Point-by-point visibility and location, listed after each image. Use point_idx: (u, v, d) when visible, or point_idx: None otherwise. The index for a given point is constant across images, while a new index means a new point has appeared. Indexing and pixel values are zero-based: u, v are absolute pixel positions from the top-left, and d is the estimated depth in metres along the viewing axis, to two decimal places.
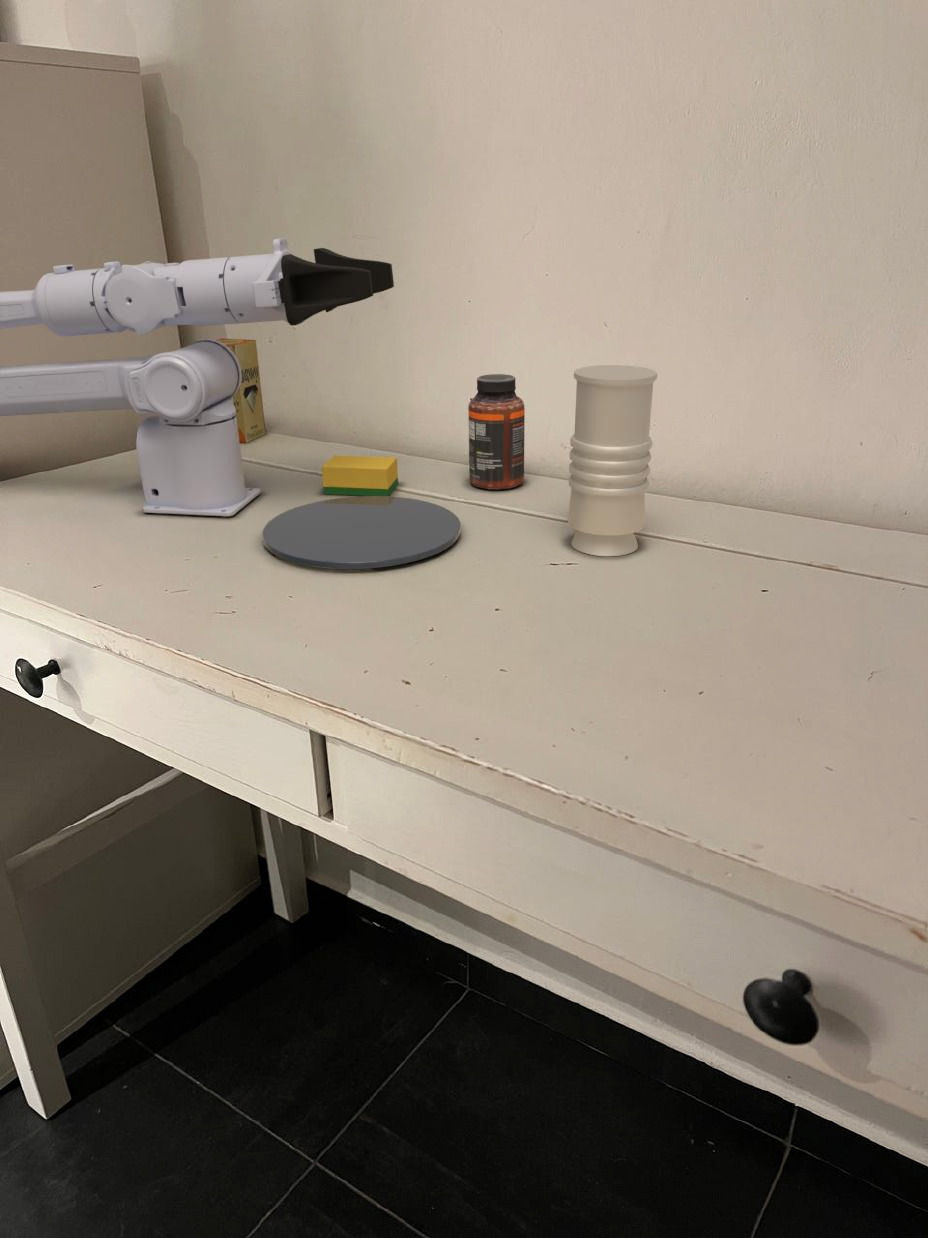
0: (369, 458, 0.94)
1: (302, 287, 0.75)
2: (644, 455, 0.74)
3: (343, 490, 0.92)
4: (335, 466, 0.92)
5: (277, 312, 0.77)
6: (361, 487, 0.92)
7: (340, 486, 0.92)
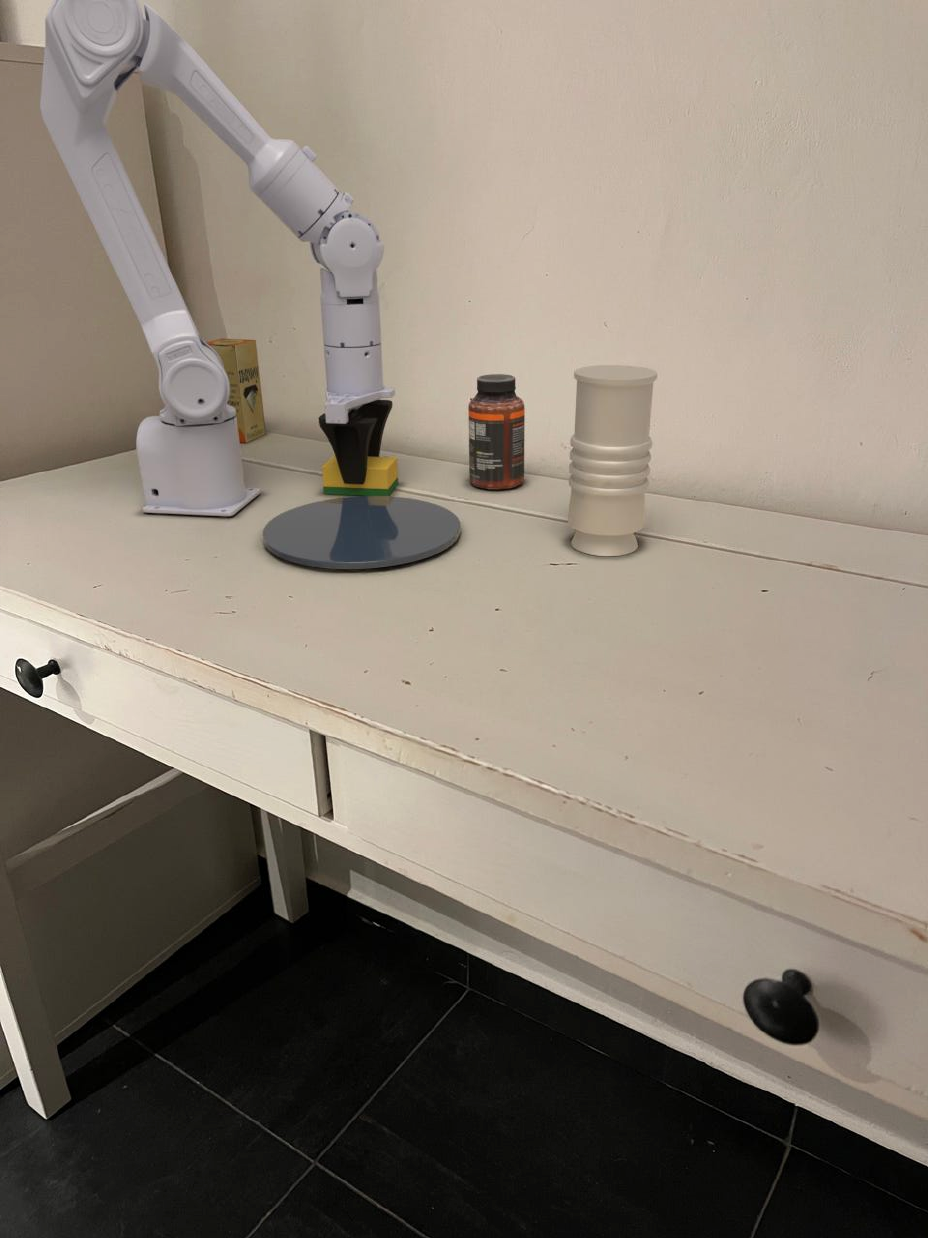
0: (369, 458, 0.94)
1: (350, 427, 0.88)
2: (644, 455, 0.74)
3: (343, 490, 0.92)
4: (335, 466, 0.92)
5: None
6: (361, 487, 0.92)
7: (340, 486, 0.92)
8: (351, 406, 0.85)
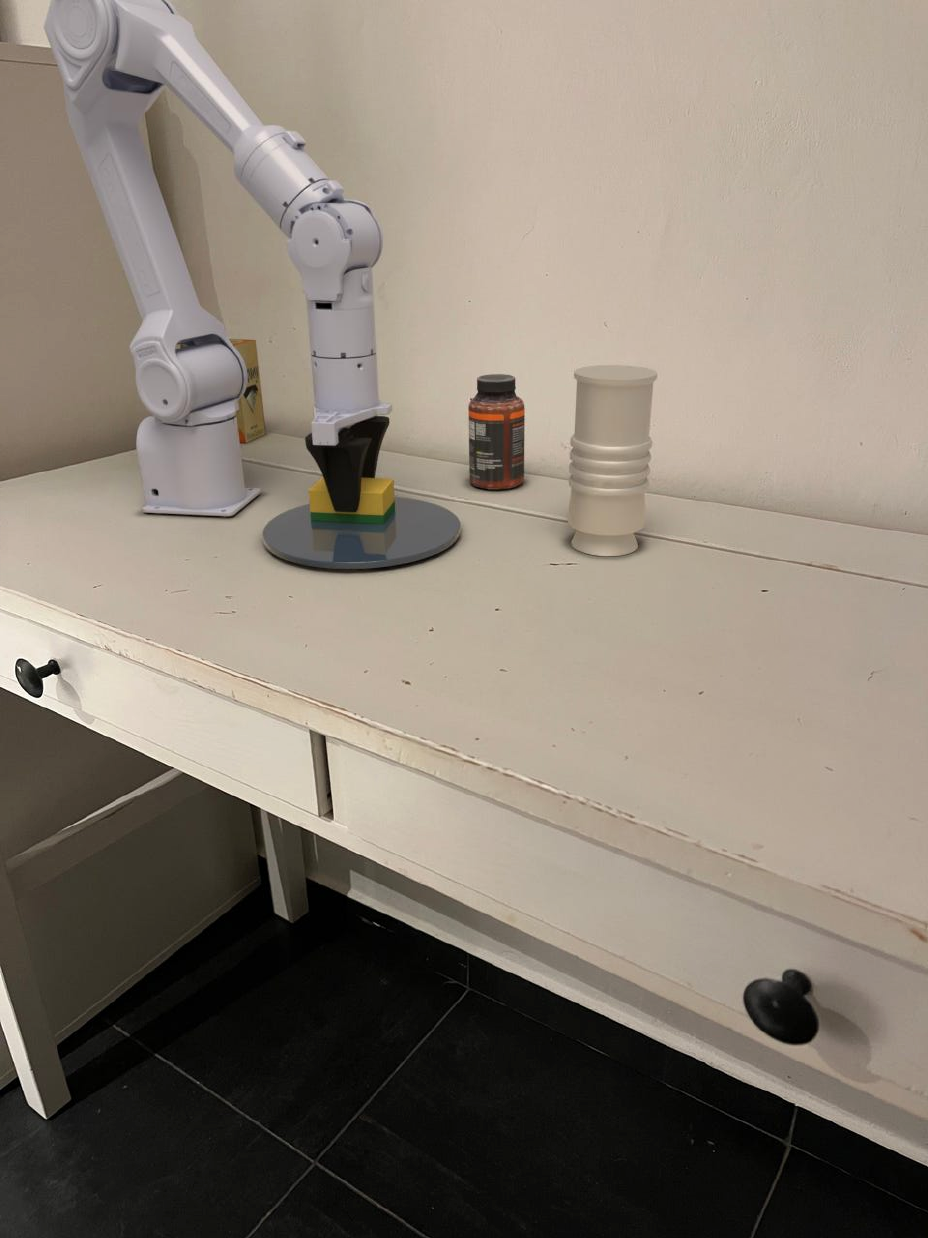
0: (362, 479, 0.84)
1: (341, 448, 0.78)
2: (644, 455, 0.74)
3: (333, 517, 0.82)
4: (324, 489, 0.81)
5: None
6: (353, 513, 0.81)
7: (329, 512, 0.82)
8: (342, 425, 0.74)
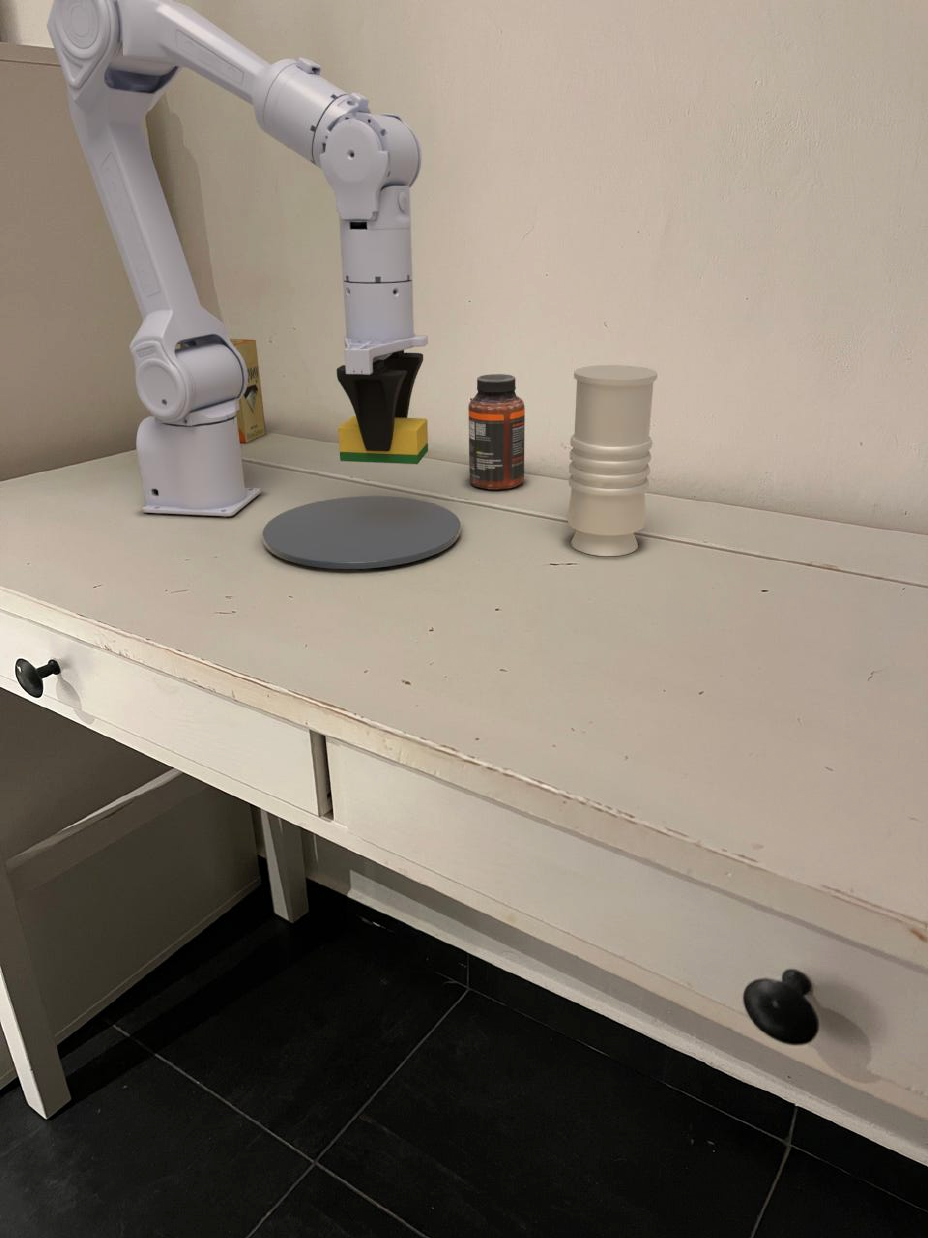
0: None
1: (374, 381, 0.74)
2: (644, 455, 0.74)
3: (364, 457, 0.77)
4: (354, 427, 0.77)
5: None
6: (385, 452, 0.77)
7: (360, 451, 0.77)
8: (376, 354, 0.70)
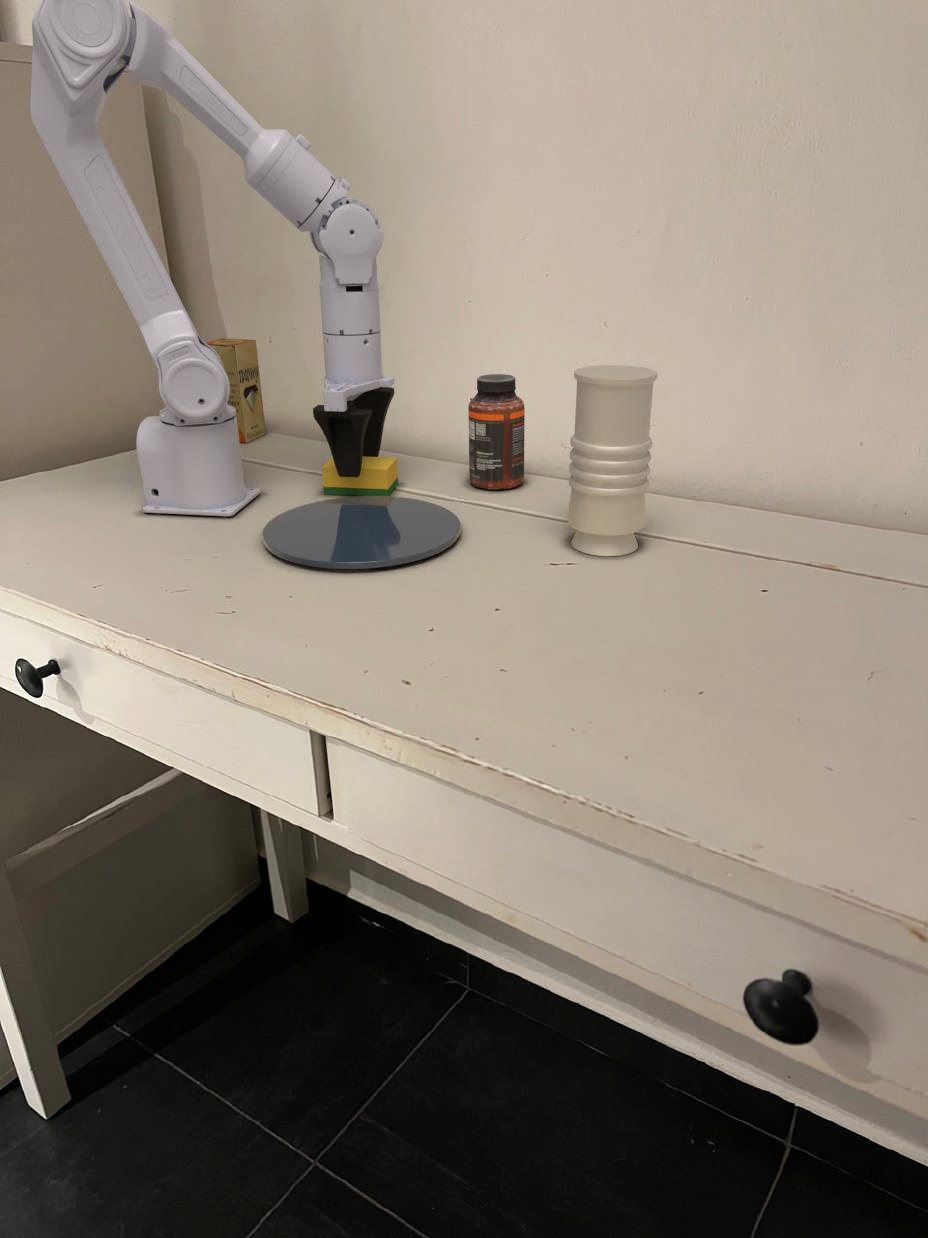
0: (369, 458, 0.94)
1: (345, 419, 0.87)
2: (644, 455, 0.74)
3: (343, 490, 0.92)
4: None
5: None
6: (361, 487, 0.92)
7: (340, 486, 0.92)
8: (350, 394, 0.84)
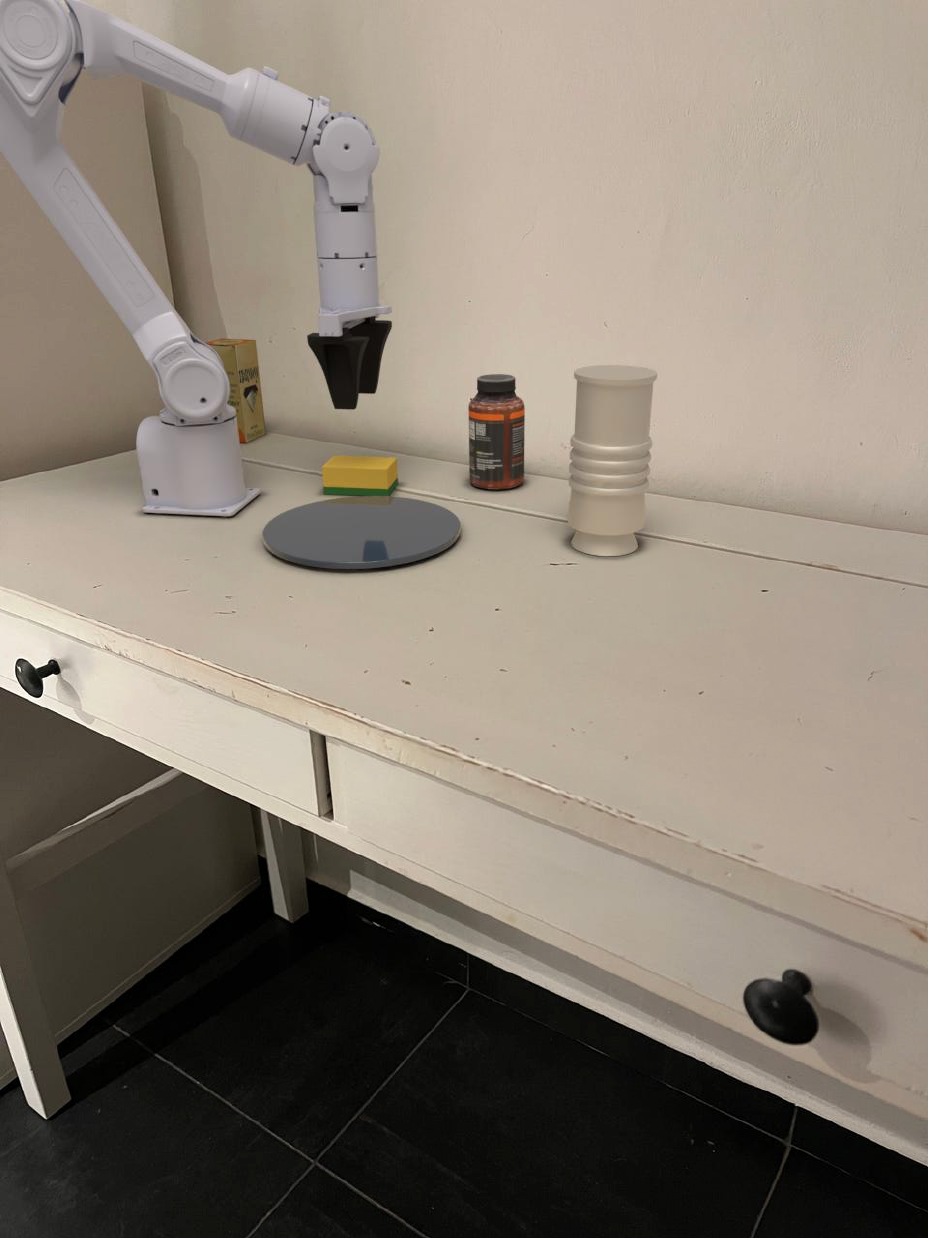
0: (369, 458, 0.94)
1: (340, 347, 0.84)
2: (644, 455, 0.74)
3: (343, 490, 0.92)
4: (335, 466, 0.92)
5: None
6: (361, 487, 0.92)
7: (340, 486, 0.92)
8: (345, 319, 0.81)
